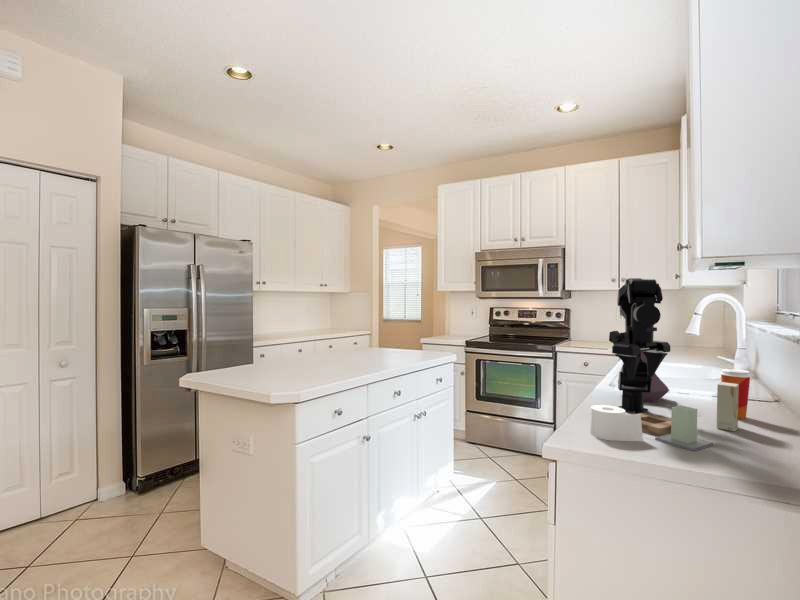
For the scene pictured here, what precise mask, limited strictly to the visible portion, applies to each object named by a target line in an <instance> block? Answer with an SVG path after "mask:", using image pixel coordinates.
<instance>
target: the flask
mask: <svg viewBox="0 0 800 600" xmlns="http://www.w3.org/2000/svg"><path fill="white" fill-rule="evenodd" d="M641 359H642V360H643V362H646V364H647V357H646V356H645V355H644V353H643V352H642V351H641ZM647 369H648V368H647ZM651 378H652V382H651V392H649V393H647V392H644V402H646V401H647V402H648V403H649V402H650V403H652V402H653V401H654V402H659V400H661V399H662V398H663V397H664V396H665V395H666V394H668V393H669V392H670V389H669V387H668V386H667V385H666V384H665V383H664V382H663V381H662V379H661V378H660V377H659V376H658V375H657V373H655V374H654V375H653V377H651ZM622 386H624V385H622ZM654 402H653V403H654Z"/></svg>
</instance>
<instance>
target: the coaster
mask: <svg viewBox="0 0 800 600" xmlns="http://www.w3.org/2000/svg"><path fill="white" fill-rule="evenodd" d="M654 440H655V441H658V442H662V443H664V444H667V445H671V446H675V447H679V448H682V449H685V450H688V451H691V452H694V451H697V450H700V449H701V450H702V449H705V448H708V447H711V446H713V445H714V442H711V441H709V440H705V439H701V438H698V437H697V441H695V442H692V443H688V444H687V443H684V442H680V441H677V440H673V439H671V433H670V434H666V435H662V436H656V437H654Z"/></svg>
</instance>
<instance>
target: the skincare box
mask: <svg viewBox="0 0 800 600" xmlns="http://www.w3.org/2000/svg"><path fill="white" fill-rule="evenodd" d="M716 389H717V395H716V428H717V429H720V430H726V431H731V432H736V431H737V429H738V427H739V419H738V393H739V384H734V383H726V382H719V383H718V384H717V388H716Z"/></svg>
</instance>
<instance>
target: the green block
mask: <svg viewBox="0 0 800 600" xmlns="http://www.w3.org/2000/svg"><path fill="white" fill-rule="evenodd" d="M670 417H671V418H670V419H671V433H670V434H671V439H673V440H677V441H680V442H684V443H687V444H688V443H692V442H695V441H697V438H698V437H697V434H698V408H695V407H692V406H691V407H690V406H686V405H682V404H681V405H675V406H672V407H671V416H670Z"/></svg>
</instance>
